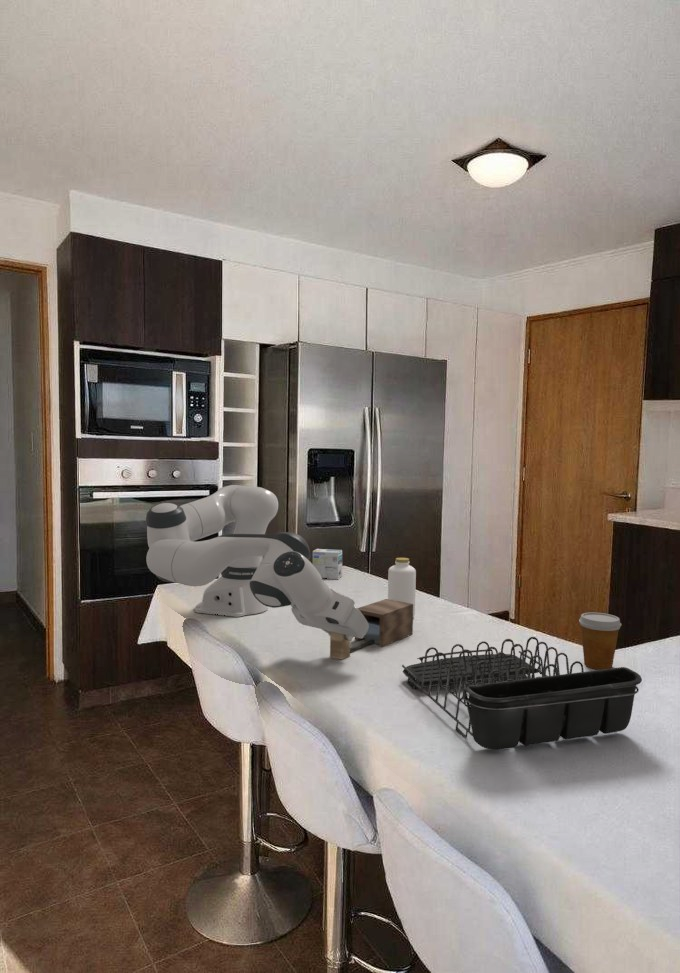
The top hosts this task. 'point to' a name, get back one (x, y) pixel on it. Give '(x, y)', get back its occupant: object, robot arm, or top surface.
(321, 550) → the light bulb box
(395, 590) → the potion bottle
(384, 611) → the cubby
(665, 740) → the top surface
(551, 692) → the dish rack
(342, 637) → the tethered block
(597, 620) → the disposable coffee cup
